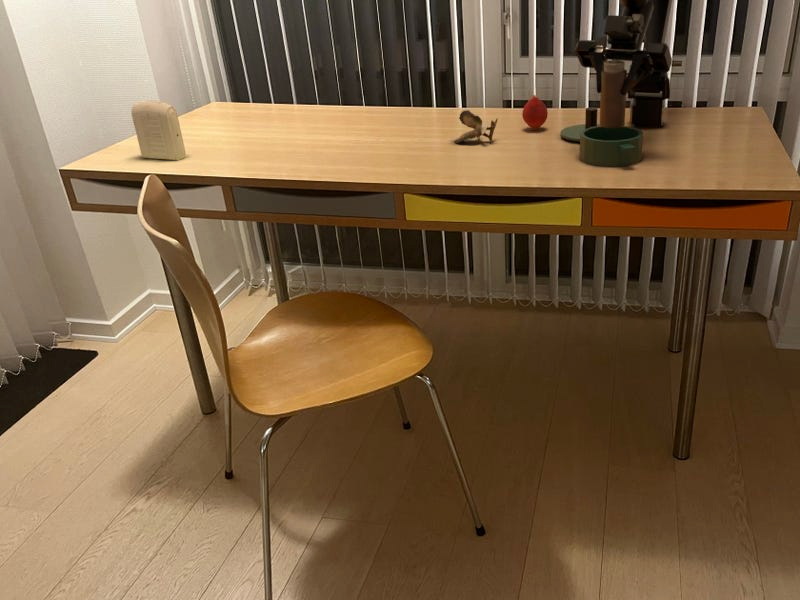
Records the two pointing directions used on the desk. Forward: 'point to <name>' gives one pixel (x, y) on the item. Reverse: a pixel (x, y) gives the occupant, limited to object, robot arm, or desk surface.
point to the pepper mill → (613, 94)
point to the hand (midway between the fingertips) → (610, 93)
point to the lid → (575, 130)
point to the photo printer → (158, 130)
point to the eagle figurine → (475, 126)
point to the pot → (611, 146)
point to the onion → (535, 113)
